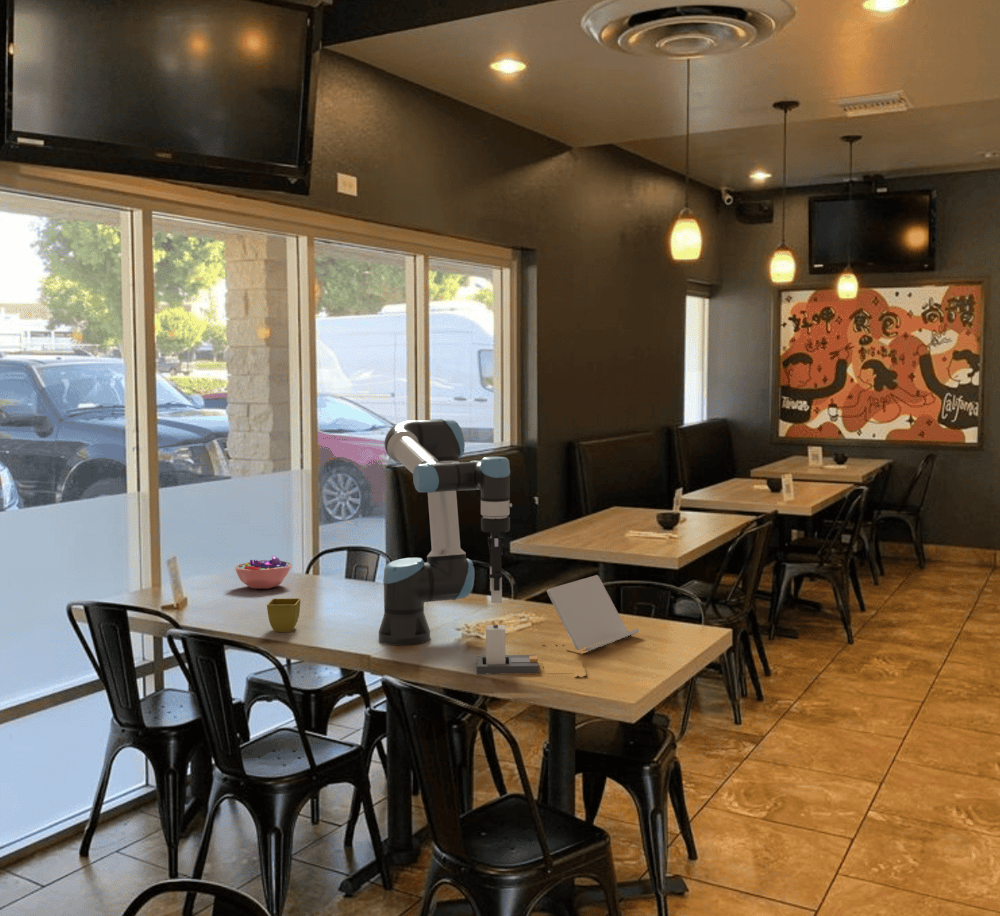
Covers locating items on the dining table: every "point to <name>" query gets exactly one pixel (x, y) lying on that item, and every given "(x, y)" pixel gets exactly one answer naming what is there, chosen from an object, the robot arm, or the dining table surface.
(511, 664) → the grey slotted tray
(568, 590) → the tablet stand
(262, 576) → the cell model
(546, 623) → the dining table surface
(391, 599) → the robot arm
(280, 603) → the flower pot
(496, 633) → the block
